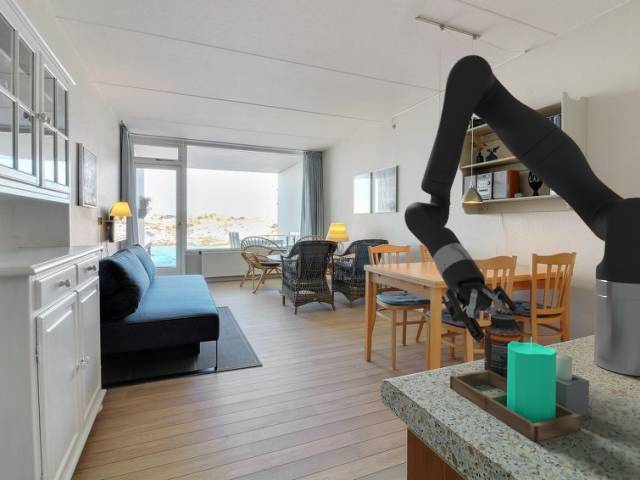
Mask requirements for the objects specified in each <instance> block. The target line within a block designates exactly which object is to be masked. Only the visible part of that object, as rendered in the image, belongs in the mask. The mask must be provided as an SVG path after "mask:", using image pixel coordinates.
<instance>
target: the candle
mask: <svg viewBox="0 0 640 480" xmlns="http://www.w3.org/2000/svg"><path fill="white" fill-rule="evenodd" d="M556 354H558V353H557V350H556V349H555V348H551V347H545V346H544V345H541V344H538V343H537V342H533V337H532V336H530V342H521V343H520V342H515V341H512V342H510V343H509V344H508V373H507V392H506V393H507V408H509V409H510V410H512V411H514V412H515V413H517V414H519V415H521V416H522V417H524V418H526V419H527V420H529V421H531V422H532V423H538V422H542V421H547V420H551V419H555V409H556Z"/></svg>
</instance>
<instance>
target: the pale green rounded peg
mask: <svg viewBox="0 0 640 480" xmlns="http://www.w3.org/2000/svg"><path fill="white" fill-rule="evenodd" d="M572 374H573V358H572V356H569V355H567V354H562V353H561V354H559V353H556V379H559V380H561V381H563V382H569V381H572Z"/></svg>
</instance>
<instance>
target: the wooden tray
mask: <svg viewBox="0 0 640 480" xmlns="http://www.w3.org/2000/svg"><path fill="white" fill-rule="evenodd" d="M488 383H489V384H491V385H492V386H495V388H498V389H500V390H502V391H503V392H504V393H497V394H492V395H486V394H485V393H483V392H482V391H480V390H478V389H476V388H474V387H473V386H477V385H484V384H488ZM449 389H452V390H453V391H454V392H456V393H458V395H459V394H460V395H461V396H462V397H464V398H465V399H467V400H468V401H470V402H472V403H473V404H475V405H476V406H478V407H479V408H481V409H483V410H484V411H486V412H487V413H489V414H490V415H492V416H493V417H495V418H496V419H497V420H500V421H501V422H503V423H504V424H506V425H507V426H509V427H511V429H512V428H513V429H514V430H515V431H517V432H518V433H520V434H522V435H523V436H524V437H526V438H528V439H529V440H531V441H533V442H534V443H535V442H540V441H543V440H547V439H552V438H555V437H560V436H563V435H567V434H570V433H571V434H572V433H574V432H578V431H581V430H582V416H581V415H579V414H577V413H575V412H573V411H571V410H569V409H567V408H565V407H563V406H561V405H559V404H557V403H556V409H555V419H551V420H547V421H542V422H538V423H532V422H531V421H529V420H527V419H526V418H524V417H522V416H521V415H519V414H517V413H515V412H514V411H512V410H510V409H509V408H507V379H506V378H504V377H502V376H500V375H498V374H496V373H494V372H492V371H490V370H485V369H484V370H480V371H473V372H468V373H467V372H466V373H461V374H456V375H449Z"/></svg>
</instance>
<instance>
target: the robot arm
mask: <svg viewBox="0 0 640 480" xmlns="http://www.w3.org/2000/svg"><path fill="white" fill-rule="evenodd" d="M473 115H474V116H476V117H478V118H479V119H480V120H482V121H483V122H484V123H485V124H486V125H488V126H489V128H490V129H491V130H492V131H493V132H494V133H495V135H496V136H497V138H498V139H499V140H500V142H501V143H502V145H504V146H505V148H506V149H507V150H508V151H509V152H510V153H511V154H512V156H514V158H515V159H517V160H518V161H519V163H521V164H522V165H523V166H524V167H525V168H526V169H527V170H529V171H530V173H532V174H533V175H534V176H535V177H536V178H537V179H539V181H541V182H542V183H543V184H545V186H546V187H547V188H549V189H550V190H551V191H553V192H554V193H555V194H556V195H558V197H560V198H561V199H563V201H564V202H566V203H567V204H568V205H569V206H570V208H571V209H572V210H573V211H574V212H575V214H576V215H577V216H578V217H579V218H580V219H581V220H582V222H583V223H584V224H585V225H586V226H587V228H588V229H589V230H590V231H591V232H592V233H593V234H594V235H595V236H596V237H597V238H598V239H599V240H601V241H603V242H604V248H603V249H604V250H603V256H602V259H601V261H600V262H599V263H598V264H597V265H596V268H595V285H594V286H595V287H594V292H595V293H594V294H595V295H594V297H595V299H594V336H593V337H594V338H593V339H594V340H593V341H594V342H593V344H594V345H593V362H594V363H595V364H596V365H597V366H598V367H600V368H603V369H606V370H608V371H611V372H614V373H617V374H622V375H626V376H627V375H628V376H636V377H640V196H639V197H637V196H636V197H627V198H624V197H622V196H621V195H619V194H618V193H617V192H615V191H614V190H613V189H611V188H610V187H609V186H608V185H607V184H605V183H604V182H603V181H602V180H601V179H600V178H599V177H598V176H597V175H596V173H595V172H594V171H593V169H592V167H591V166H590V164H589V162H588V160H587V158H586V155H584V153H583V151H582V149H581V148H580V146H579V145H578V144H577V143H576V141H574V140H573V138H572V137H570V136H569V134H567V133H566V132H565V131H564V130H563V129H562V128H561V127H560V126H558V125H557V124H556V123H554V122H553V121H552V120H550V119H549V118H548V117H547V116H545V115H543V114H542V113H541V112H539V111H537V110H535V108H534V109H533V108H532V107H530V106H529V105H527V104H525V103H523V102H521V101H520V100H519V99H517V98H516V97H515V96H514V95H513V94H512V93H511V92H510V91H509V90H508V89H507V88H506V87H505V86H504V85H503V83H501V81H500V80H499V79H498V78H497V76H496V75H495V74H494V72H493V69H492V67H491V64H490V63H489V62H488V61H487V60H486V59H485V58H484V57H482V56H480V55H477V54H469V55H465V56H462V57H461V58H459V59H458V60H457V61H456V62H454V64H452V66H451V67H450V69H449V71H448V73H447V76H446V81H445V89H444V96H443V102H442V109H441V114H440V119H439V122H438V123H439V124H438V127H437V131H436V135H435V139H434V142H433V146H432V148H431V151H430V154H429V158H428V161H427V163H426V164H427V165H426V167H425V170H424V174H423V177H422V180H421V185H420V188H421V190H422V192H424V193H425V194H428V195H430V203H427V202H423V201H421V202H419V201H418V202H412V203H410V204H409V205H408V206H407V207H406V209H405V211H404V223H405V225H406V228H407V229H408V230H409V232H410V233H411V234H412V235H414V237H415V238H416V239H417V240H418V241H419V243H421V244H422V245H423V246H424V247H426V249H427V251H428V253H429V254H430V255H429V256H431V258H432V260H433V262H434V264H435V267H436V270H437V271H438V273H439V275H440V276H441V278H442V280H443V282H444V283H445V285H446V287H447V290H446V291H445V292H444V293H443V295H442V296H441V300H442V302H443V303H444V306H445V308H446V310H447V312H448V314H449V316H450V318H451V320H452V321H453V322H455V323H457V322H461V323H462V324H463V325H465V327H466V329H467V330H468V331H467V332H468V333H469V335H470V336H471V337H472V338H473V339H474V341H477V342H478V341H481V340H482V339H484V338H485V331H483V329H482V327H481V326H480V324H479V322H478V321H477V318H476V317H474V313H475V312H478V311H481V312H485V311H486V312H487V313H489V314H491V315H492V314H505V315H510V316H513V313H515V312H516V311H517V310H518V307H517V305H516V304H515V303H514V302H513V301H512V299H511V298H510V296H509V295H508V294H507V292H505V290H504V288H502V286H501V285H497V286H496V287H495V288H490V287H488V286H487V285H486V283H485V282H486V279H485V277H486V276H485V275H484V274H483V272H482V270H481V269H480V268H479V266H478V265H477V263H476V261H475V260H474V258H473V257H472V255H471V254H470V252H468V250H467V249H466V248H465V246H463V243H461V241H460V240H459V238H458V237H457V235H456V234H455V233H454V231H453V230H451V229H450V228H449V227H446V226H447V223H448V221H449V217H450V207H451V206H450V204H451V192H452V191H451V190H452V187H453V185H454V182H455V179H456V177H457V176H456V175H457V173H458V169H459V167H460V163H461V159H462V154H463V150H464V144H465V139H466V135H467V132H468V129H469V126H470V123H471V121H472V117H473ZM460 304H461V305H460ZM492 304H494V305H493V306H492ZM506 304H507V306H506ZM501 311H502V312H501ZM515 327H516V328H517V329H518V330H519V331H520V333H521V332H522V331H521V327H520V325H519V324H518V322H517V321H516V320H515Z"/></svg>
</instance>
